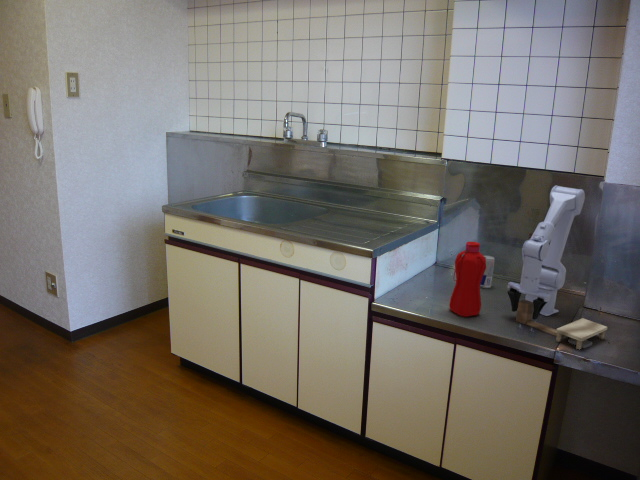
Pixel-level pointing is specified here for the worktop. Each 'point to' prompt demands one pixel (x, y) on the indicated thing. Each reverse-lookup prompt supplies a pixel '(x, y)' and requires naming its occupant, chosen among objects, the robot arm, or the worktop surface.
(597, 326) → the small wooden table
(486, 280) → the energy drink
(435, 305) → the worktop surface
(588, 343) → the coaster
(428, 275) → the worktop surface
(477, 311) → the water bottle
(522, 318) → the wooden mallet
